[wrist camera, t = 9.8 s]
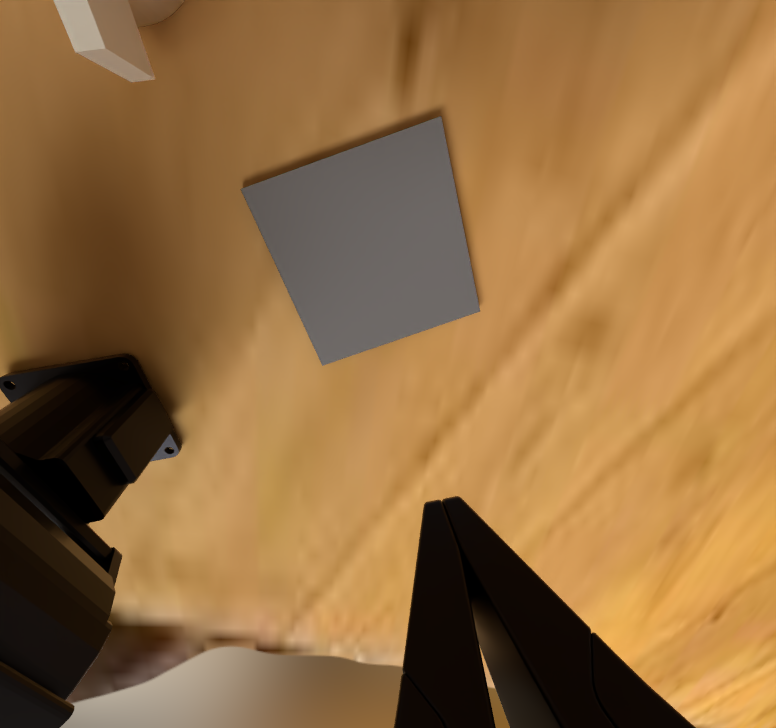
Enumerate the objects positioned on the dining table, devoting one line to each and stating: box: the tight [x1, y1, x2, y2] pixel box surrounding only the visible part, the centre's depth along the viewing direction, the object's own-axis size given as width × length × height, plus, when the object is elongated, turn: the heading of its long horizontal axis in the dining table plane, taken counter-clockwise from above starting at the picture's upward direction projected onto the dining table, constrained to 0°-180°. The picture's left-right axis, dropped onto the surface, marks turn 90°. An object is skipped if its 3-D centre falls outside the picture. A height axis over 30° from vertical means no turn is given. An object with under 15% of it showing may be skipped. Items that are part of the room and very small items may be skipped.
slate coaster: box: [241, 116, 480, 366], centre depth 17 cm, size 9×9×1 cm
